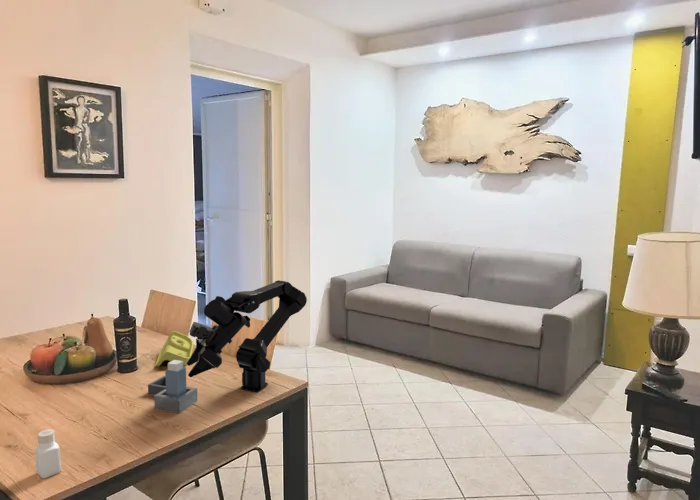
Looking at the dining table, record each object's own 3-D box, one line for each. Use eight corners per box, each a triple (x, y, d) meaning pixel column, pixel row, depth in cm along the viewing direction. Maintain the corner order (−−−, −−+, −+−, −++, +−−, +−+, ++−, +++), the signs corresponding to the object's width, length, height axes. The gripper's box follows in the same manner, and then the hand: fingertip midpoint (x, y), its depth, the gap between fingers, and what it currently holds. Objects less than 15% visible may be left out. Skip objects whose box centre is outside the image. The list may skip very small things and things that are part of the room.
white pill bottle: (41, 480, 108) (38, 439, 107) (35, 473, 111) (32, 432, 110) (62, 472, 111) (59, 432, 110) (55, 465, 114) (52, 426, 113)
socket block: (197, 401, 148) (197, 387, 147) (179, 413, 140) (179, 398, 140) (173, 397, 151) (173, 383, 150) (154, 408, 143) (154, 394, 142)
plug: (186, 403, 147) (185, 360, 145) (178, 408, 143) (176, 365, 141) (175, 401, 148) (173, 359, 146) (166, 406, 144) (165, 363, 142)
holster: (183, 388, 157) (183, 379, 157) (168, 397, 150) (168, 388, 150) (164, 384, 159) (163, 375, 159) (148, 394, 152) (147, 384, 152)
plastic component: (190, 360, 175) (163, 349, 173) (181, 378, 176) (154, 368, 173) (194, 338, 194) (169, 329, 191) (186, 355, 195) (161, 345, 192)
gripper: (203, 305, 154) (166, 343, 151) (208, 321, 136) (167, 365, 134) (230, 327, 157) (194, 365, 155) (238, 346, 140) (198, 389, 138)
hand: (188, 370), depth 145 cm, fingers open, 9 cm apart
